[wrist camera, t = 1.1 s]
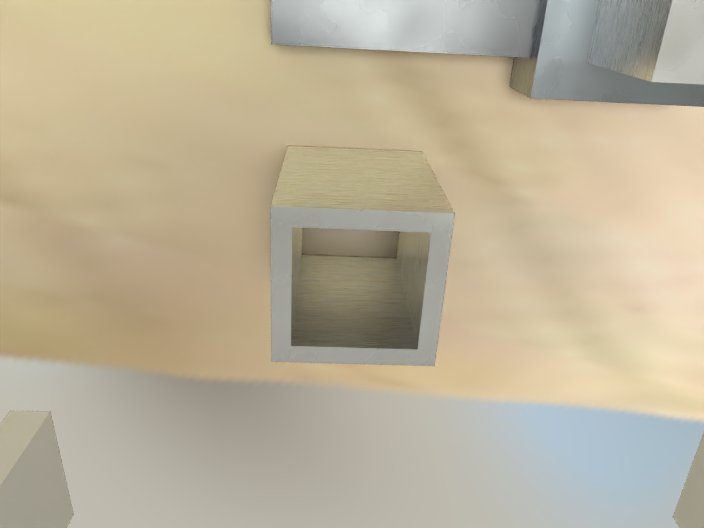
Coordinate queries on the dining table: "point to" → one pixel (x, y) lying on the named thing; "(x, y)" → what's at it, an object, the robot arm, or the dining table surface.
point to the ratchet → (527, 41)
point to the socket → (358, 258)
